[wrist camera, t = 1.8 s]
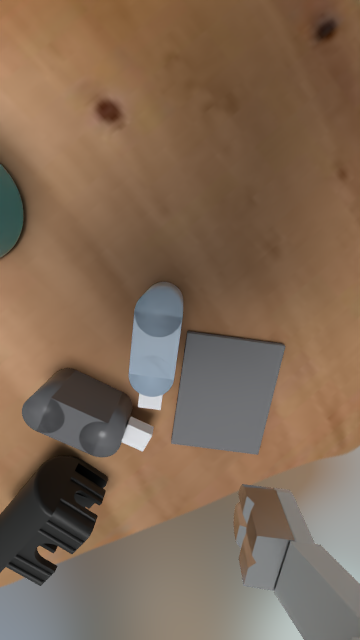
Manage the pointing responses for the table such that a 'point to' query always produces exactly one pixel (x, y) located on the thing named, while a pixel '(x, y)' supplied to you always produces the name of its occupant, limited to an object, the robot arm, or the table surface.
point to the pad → (225, 392)
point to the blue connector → (155, 343)
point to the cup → (9, 212)
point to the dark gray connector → (85, 414)
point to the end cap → (50, 515)
